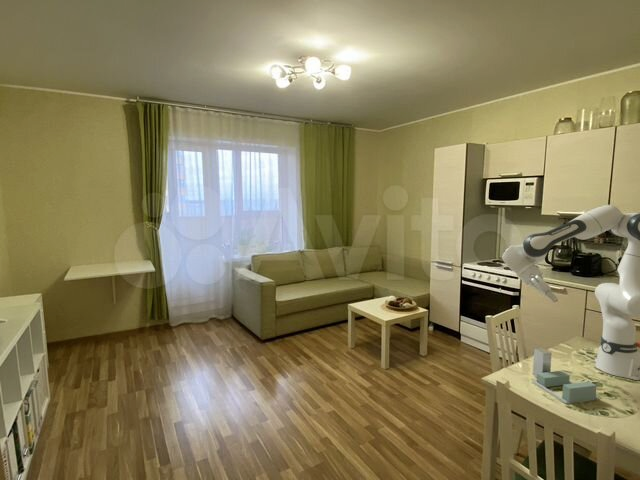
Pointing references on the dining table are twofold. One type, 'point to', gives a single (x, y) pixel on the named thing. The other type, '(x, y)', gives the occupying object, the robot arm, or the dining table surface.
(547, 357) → the steel block
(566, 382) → the block
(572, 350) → the dining table surface
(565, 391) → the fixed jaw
